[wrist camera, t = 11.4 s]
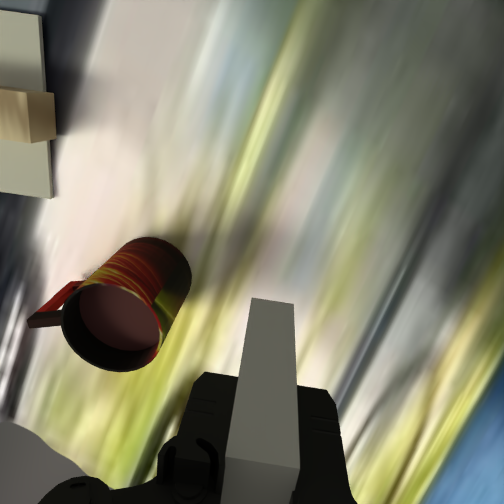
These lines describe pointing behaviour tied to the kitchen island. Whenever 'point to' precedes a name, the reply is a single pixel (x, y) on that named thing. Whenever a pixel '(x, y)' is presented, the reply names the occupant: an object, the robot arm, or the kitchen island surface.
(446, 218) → the kitchen island surface
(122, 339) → the mug
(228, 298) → the kitchen island surface
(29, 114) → the maple block
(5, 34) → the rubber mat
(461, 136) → the kitchen island surface
